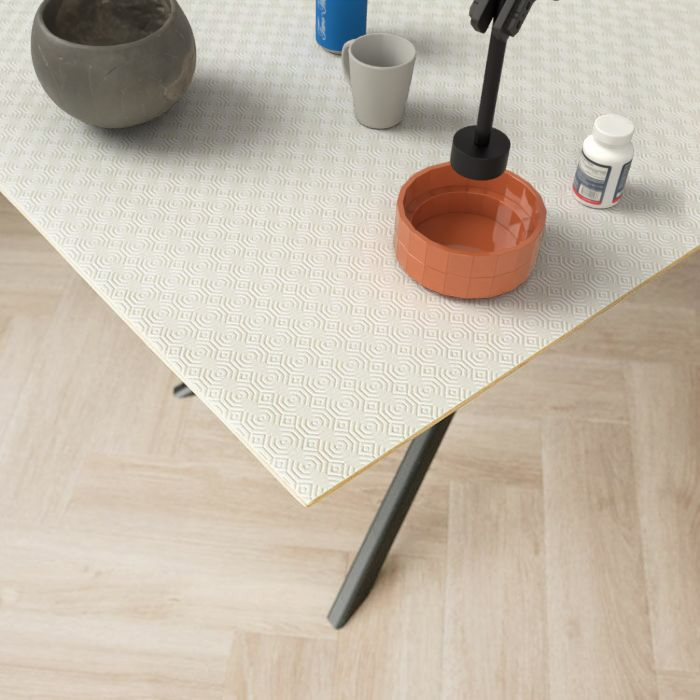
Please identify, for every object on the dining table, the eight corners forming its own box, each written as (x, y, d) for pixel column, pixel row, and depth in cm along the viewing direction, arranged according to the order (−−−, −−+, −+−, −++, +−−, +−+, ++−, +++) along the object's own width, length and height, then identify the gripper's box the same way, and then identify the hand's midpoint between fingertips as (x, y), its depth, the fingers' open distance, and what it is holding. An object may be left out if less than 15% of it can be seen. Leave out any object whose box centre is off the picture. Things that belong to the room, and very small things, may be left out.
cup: (378, 143, 103) (382, 76, 97) (319, 105, 108) (319, 39, 102) (424, 117, 107) (431, 51, 101) (365, 82, 112) (368, 17, 105)
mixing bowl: (540, 219, 95) (551, 173, 91) (528, 314, 86) (540, 267, 81) (407, 198, 97) (411, 151, 93) (381, 288, 88) (384, 241, 83)
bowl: (186, 59, 114) (174, -40, 105) (216, 141, 103) (206, 37, 93) (40, 79, 110) (14, -22, 101) (55, 167, 99) (28, 61, 89)
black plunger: (509, 151, 85) (545, -39, 72) (503, 184, 82) (540, -8, 68) (454, 142, 86) (480, -47, 72) (445, 175, 82) (471, -17, 69)
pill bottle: (608, 177, 100) (629, 107, 94) (628, 206, 97) (650, 136, 90) (563, 182, 100) (581, 112, 93) (581, 212, 96) (601, 142, 90)
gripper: (505, -229, 69) (400, -14, 71) (673, -186, 64) (553, 45, 66) (528, -172, 76) (431, 23, 78) (681, -128, 70) (572, 79, 73)
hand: (488, 32), depth 72 cm, fingers closed on black plunger, 1 cm apart
